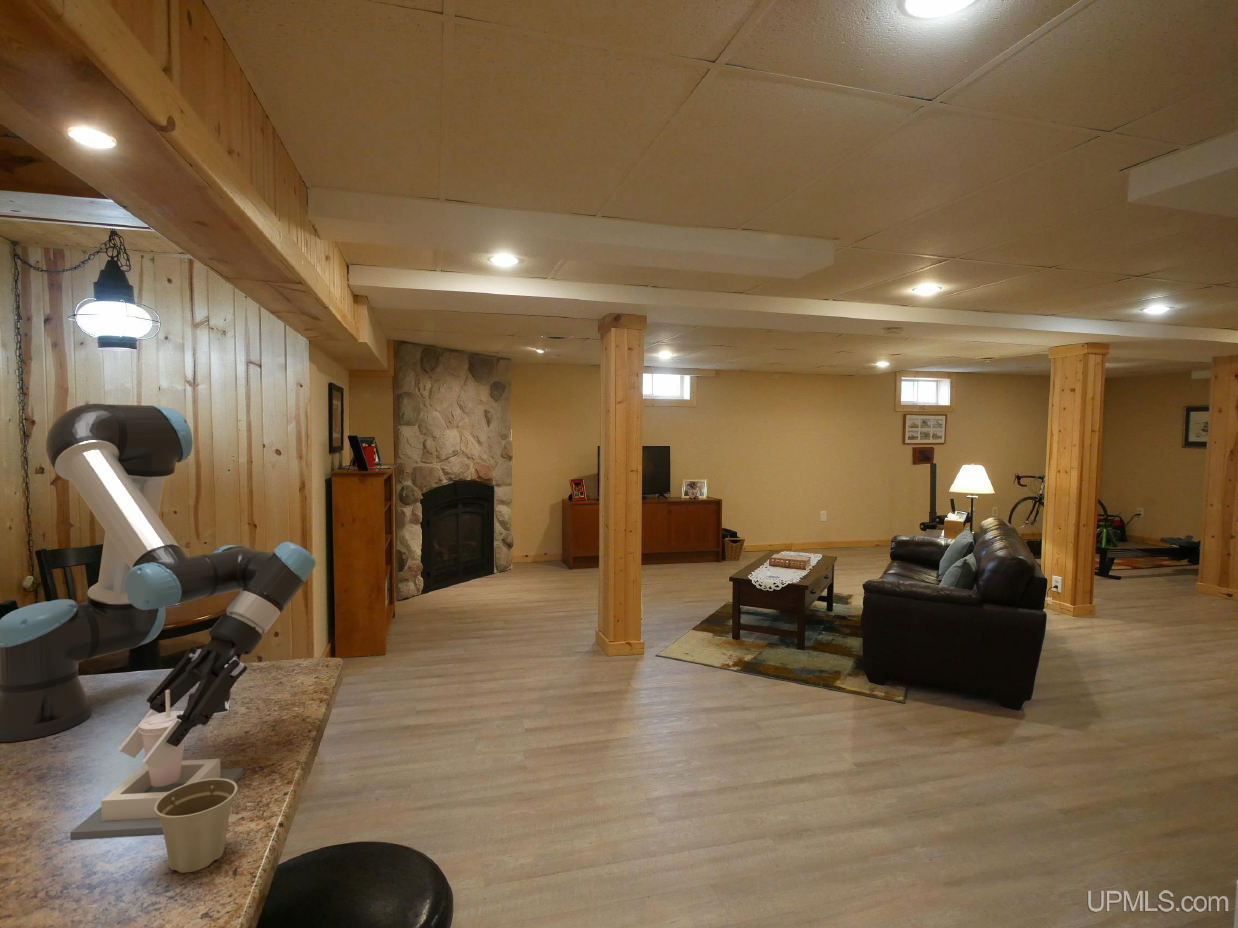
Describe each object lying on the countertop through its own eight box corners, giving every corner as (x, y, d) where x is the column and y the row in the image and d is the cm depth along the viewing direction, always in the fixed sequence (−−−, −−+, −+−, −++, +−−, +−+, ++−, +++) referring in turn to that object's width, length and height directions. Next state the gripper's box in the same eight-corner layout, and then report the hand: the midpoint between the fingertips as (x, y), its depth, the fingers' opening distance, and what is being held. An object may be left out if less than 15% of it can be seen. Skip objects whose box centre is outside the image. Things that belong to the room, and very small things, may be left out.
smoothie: (198, 776, 99) (196, 689, 99) (151, 796, 94) (148, 703, 93) (178, 765, 103) (176, 680, 102) (132, 783, 97) (129, 694, 97)
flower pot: (223, 827, 93) (222, 770, 92) (249, 855, 87) (248, 793, 86) (145, 860, 85) (144, 798, 85) (168, 893, 79) (166, 826, 79)
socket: (142, 778, 106) (141, 754, 105) (243, 773, 107) (243, 750, 107) (70, 839, 90) (69, 811, 90) (191, 832, 92) (190, 805, 91)
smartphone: (230, 686, 142) (228, 711, 129) (230, 692, 142) (229, 717, 129) (189, 693, 138) (183, 719, 126) (189, 699, 138) (183, 726, 126)
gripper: (294, 644, 106) (193, 785, 93) (227, 627, 116) (126, 753, 102) (263, 621, 102) (151, 766, 88) (195, 605, 111) (85, 734, 97)
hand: (138, 759), depth 95 cm, fingers closed on smoothie, 6 cm apart
